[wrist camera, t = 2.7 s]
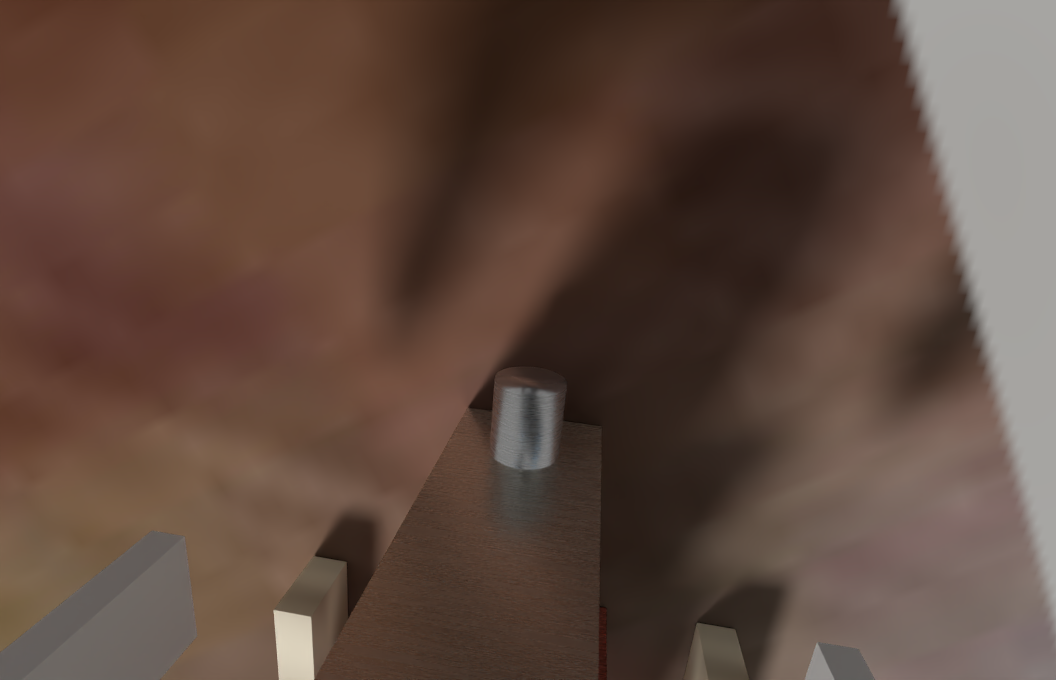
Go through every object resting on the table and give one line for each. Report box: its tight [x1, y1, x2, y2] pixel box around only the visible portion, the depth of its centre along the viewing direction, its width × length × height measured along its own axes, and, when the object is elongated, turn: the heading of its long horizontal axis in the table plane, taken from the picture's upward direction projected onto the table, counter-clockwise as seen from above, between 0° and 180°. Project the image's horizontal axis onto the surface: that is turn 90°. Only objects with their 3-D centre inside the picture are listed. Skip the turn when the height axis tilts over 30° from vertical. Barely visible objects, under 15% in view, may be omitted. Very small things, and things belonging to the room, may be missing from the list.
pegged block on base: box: [314, 366, 607, 680], centre depth 12 cm, size 10×6×11 cm, turn 175°
